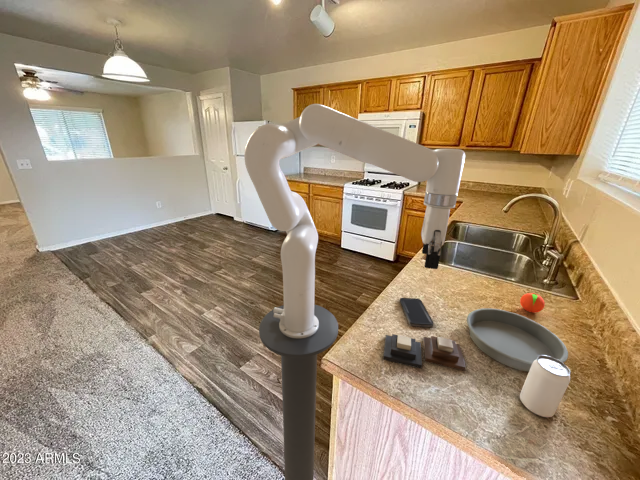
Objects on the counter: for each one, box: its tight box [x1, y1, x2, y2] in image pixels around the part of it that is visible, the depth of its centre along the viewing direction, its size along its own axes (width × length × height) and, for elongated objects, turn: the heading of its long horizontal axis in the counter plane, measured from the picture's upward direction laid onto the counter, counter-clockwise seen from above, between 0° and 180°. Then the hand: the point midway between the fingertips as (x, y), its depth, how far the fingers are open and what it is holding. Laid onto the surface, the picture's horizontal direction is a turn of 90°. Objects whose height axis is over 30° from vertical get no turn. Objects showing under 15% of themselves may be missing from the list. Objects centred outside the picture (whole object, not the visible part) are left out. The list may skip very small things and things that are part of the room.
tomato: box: [519, 292, 546, 314], centre depth 95 cm, size 8×7×7 cm
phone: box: [399, 297, 434, 328], centre depth 93 cm, size 8×1×15 cm
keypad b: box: [422, 335, 466, 371], centre depth 75 cm, size 10×9×3 cm
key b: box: [437, 335, 453, 352], centre depth 74 cm, size 4×4×2 cm
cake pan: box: [466, 307, 569, 373], centre depth 79 cm, size 25×25×4 cm
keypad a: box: [382, 333, 423, 369], centre depth 75 cm, size 10×9×3 cm
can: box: [519, 355, 572, 418], centre depth 59 cm, size 6×6×12 cm
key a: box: [397, 334, 412, 351], centre depth 74 cm, size 4×4×2 cm
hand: (429, 260), depth 73 cm, fingers open, 9 cm apart
